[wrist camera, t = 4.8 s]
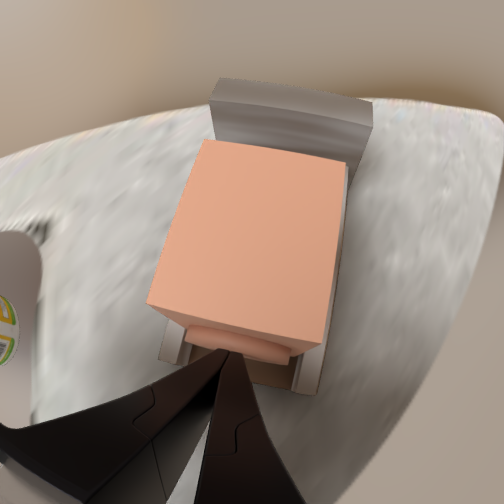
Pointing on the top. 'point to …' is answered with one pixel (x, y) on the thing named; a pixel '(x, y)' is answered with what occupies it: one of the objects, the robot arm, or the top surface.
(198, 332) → the peach knobbed cube
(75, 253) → the top surface
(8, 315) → the supplement bottle
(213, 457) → the robot arm
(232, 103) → the rail
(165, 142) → the top surface
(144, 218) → the top surface
